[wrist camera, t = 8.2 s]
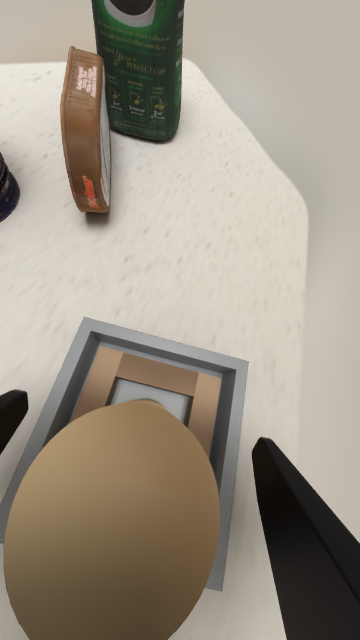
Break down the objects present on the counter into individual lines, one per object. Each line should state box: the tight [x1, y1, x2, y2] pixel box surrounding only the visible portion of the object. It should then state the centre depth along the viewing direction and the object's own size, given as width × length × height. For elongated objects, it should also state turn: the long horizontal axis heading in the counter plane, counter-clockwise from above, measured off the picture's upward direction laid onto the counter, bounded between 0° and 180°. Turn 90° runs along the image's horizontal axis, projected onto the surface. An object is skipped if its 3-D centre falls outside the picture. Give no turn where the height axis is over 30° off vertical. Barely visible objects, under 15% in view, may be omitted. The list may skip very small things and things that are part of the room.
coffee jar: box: [91, 0, 185, 140], centre depth 20 cm, size 10×8×19 cm
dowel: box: [4, 398, 220, 640], centre depth 10 cm, size 4×4×12 cm
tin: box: [60, 46, 111, 213], centre depth 20 cm, size 15×3×8 cm, turn 5°
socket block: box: [70, 346, 221, 459], centre depth 14 cm, size 9×9×2 cm
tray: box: [0, 317, 249, 591], centre depth 14 cm, size 12×12×4 cm
